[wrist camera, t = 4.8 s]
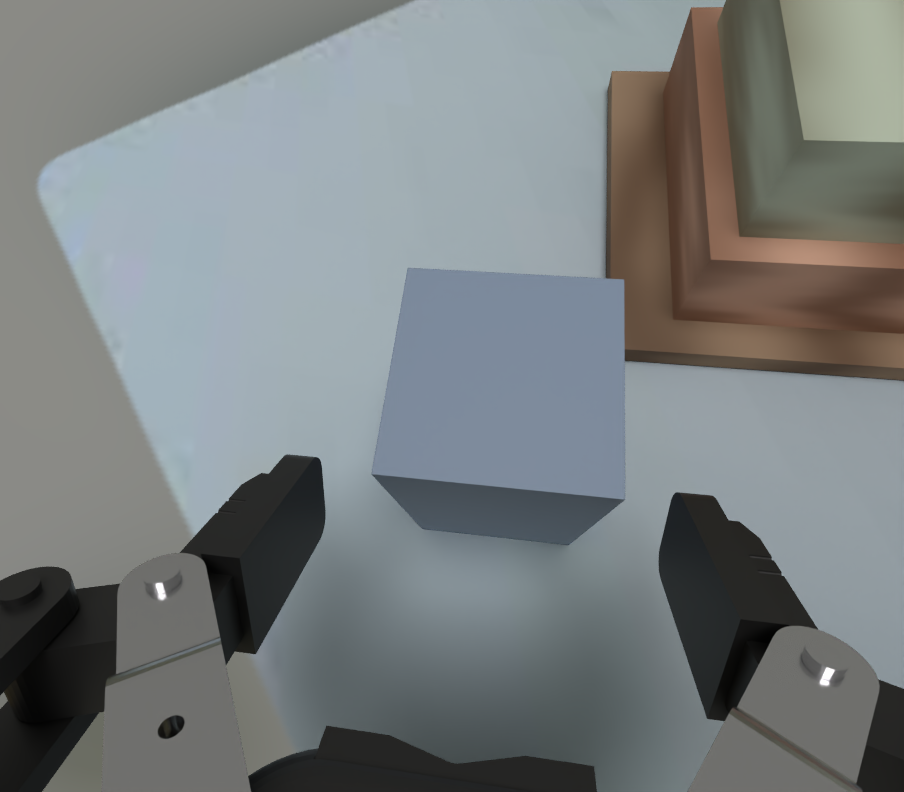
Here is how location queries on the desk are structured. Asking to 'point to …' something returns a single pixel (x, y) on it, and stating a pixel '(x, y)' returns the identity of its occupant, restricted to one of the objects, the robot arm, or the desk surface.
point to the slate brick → (506, 404)
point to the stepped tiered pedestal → (764, 191)
